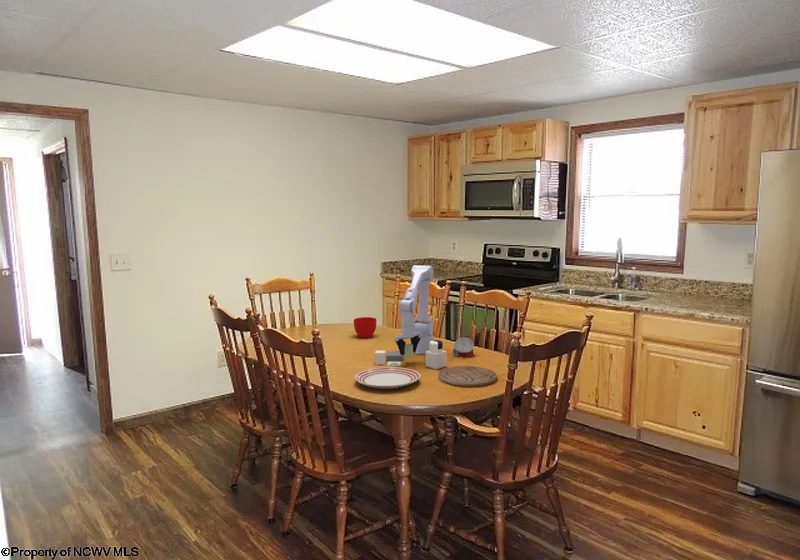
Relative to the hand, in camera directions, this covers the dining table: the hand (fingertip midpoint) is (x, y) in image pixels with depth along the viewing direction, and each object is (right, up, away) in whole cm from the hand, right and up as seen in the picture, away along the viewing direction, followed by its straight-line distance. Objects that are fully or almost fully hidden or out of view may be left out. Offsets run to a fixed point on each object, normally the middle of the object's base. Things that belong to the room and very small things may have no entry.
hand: (408, 353), depth 259 cm
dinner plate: (-9, -9, -27) cm, 30 cm away
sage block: (0, -1, 0) cm, 1 cm away
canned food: (+27, -3, +13) cm, 31 cm away
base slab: (-6, -4, +9) cm, 12 cm away
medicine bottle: (+13, -6, -5) cm, 15 cm away
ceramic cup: (-23, +2, +56) cm, 61 cm away
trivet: (+25, -8, -22) cm, 35 cm away
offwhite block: (-13, -5, +1) cm, 14 cm away
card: (-7, -5, -1) cm, 8 cm away
